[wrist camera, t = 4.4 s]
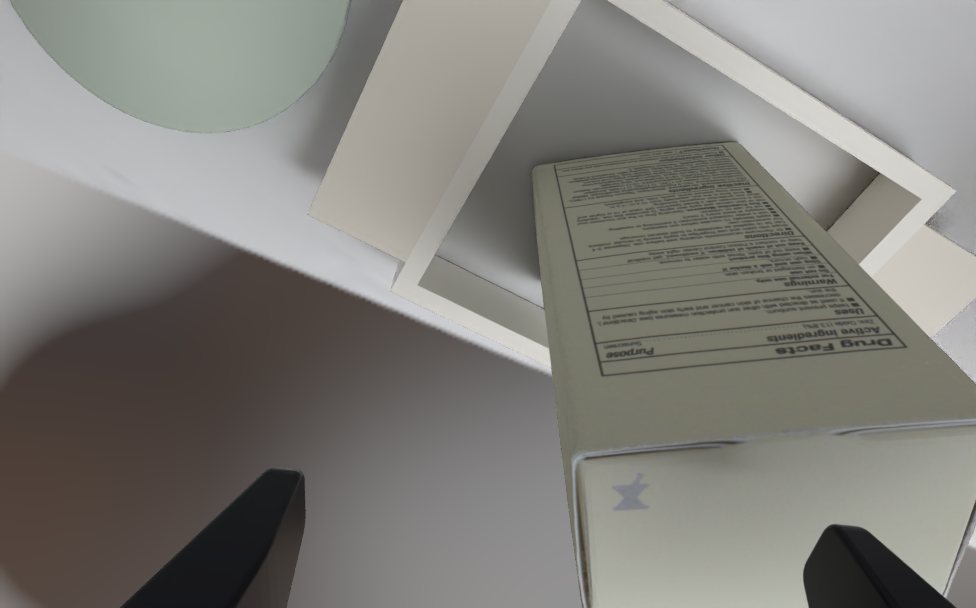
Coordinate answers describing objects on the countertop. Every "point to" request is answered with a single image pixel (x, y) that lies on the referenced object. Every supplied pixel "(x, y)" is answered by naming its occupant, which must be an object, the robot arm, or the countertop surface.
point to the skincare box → (735, 387)
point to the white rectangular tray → (492, 106)
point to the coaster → (191, 54)
